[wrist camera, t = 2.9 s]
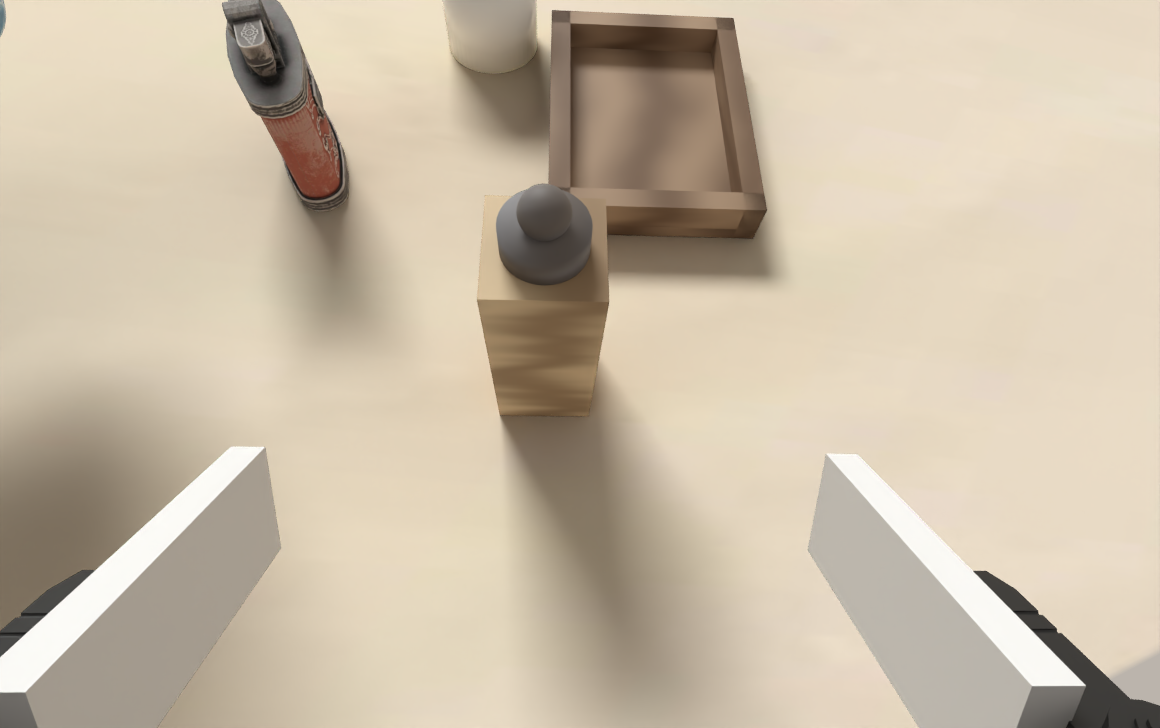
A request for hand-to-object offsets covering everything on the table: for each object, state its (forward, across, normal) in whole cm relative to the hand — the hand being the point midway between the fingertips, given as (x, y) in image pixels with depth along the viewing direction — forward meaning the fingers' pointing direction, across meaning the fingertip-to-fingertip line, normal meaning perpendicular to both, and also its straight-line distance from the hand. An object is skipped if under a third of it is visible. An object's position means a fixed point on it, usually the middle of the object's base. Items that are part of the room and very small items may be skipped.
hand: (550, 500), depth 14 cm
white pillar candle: (+34, -4, +15) cm, 37 cm away
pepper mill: (+17, 0, -3) cm, 17 cm away
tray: (+29, +6, +9) cm, 31 cm away
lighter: (+27, -14, +7) cm, 31 cm away
